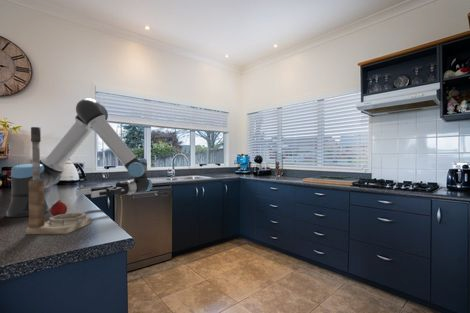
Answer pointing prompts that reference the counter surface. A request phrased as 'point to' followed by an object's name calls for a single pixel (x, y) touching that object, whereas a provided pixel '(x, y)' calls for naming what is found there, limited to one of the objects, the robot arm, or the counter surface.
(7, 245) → the counter surface
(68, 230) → the press
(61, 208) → the onion
